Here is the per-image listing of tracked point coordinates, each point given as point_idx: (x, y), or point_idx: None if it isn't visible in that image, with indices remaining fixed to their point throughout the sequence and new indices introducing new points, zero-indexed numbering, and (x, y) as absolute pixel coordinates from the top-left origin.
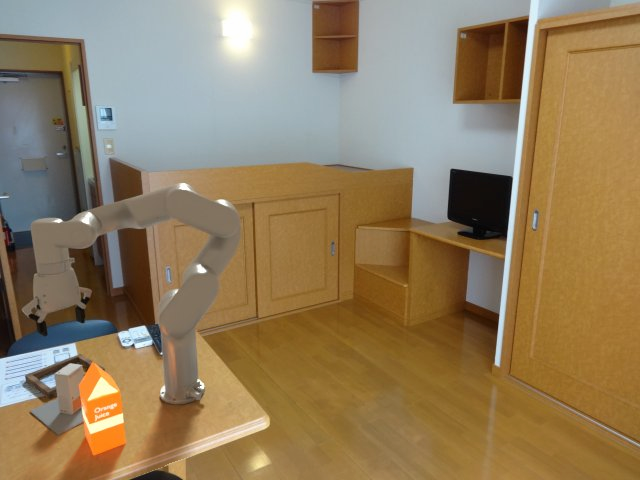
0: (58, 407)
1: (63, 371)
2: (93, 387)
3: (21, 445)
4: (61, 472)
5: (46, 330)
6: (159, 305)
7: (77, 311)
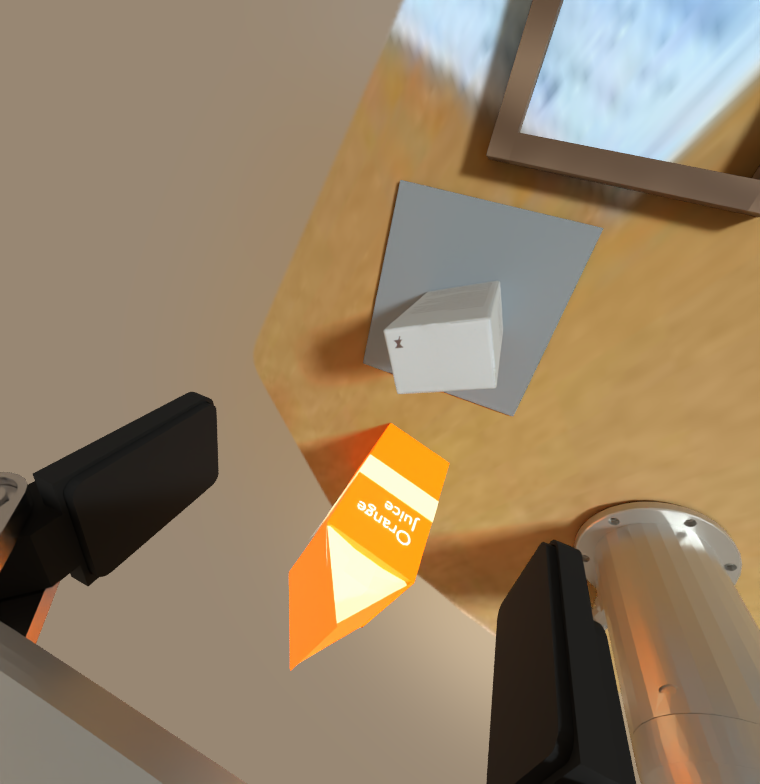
0: (449, 260)
1: (413, 353)
2: (292, 617)
3: (304, 309)
4: (302, 446)
5: (180, 507)
6: None
7: (522, 722)
